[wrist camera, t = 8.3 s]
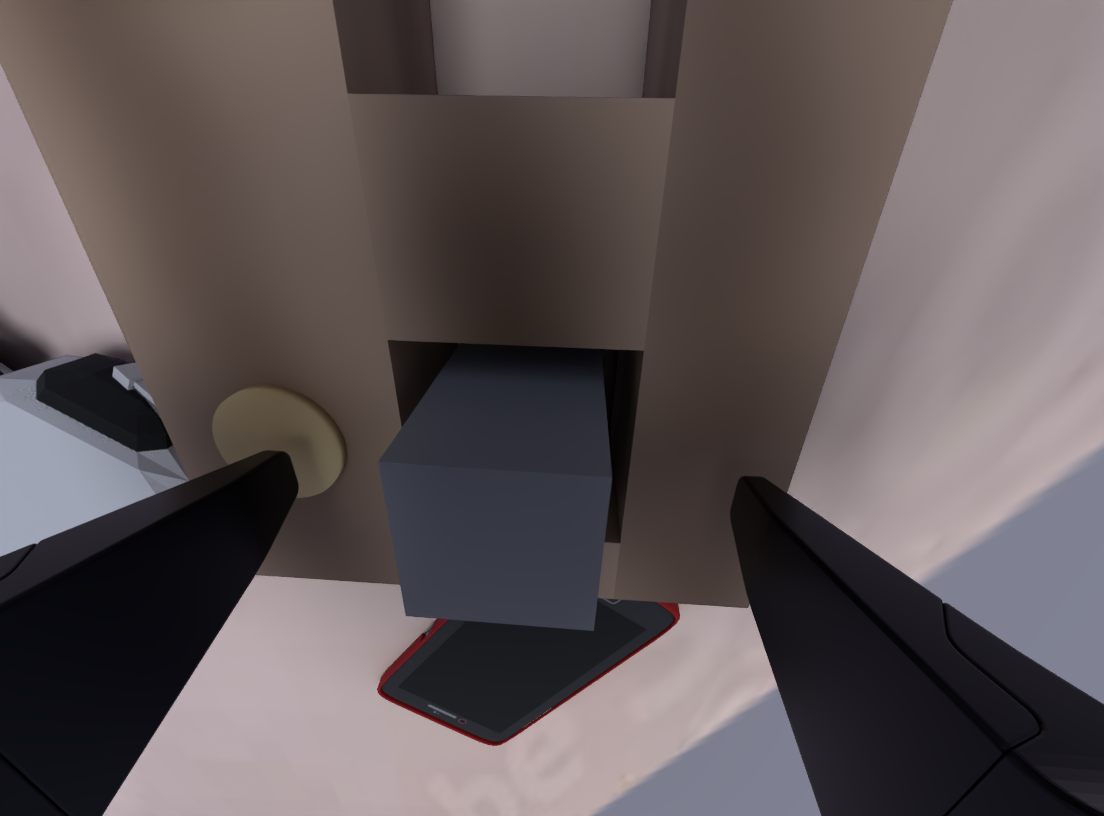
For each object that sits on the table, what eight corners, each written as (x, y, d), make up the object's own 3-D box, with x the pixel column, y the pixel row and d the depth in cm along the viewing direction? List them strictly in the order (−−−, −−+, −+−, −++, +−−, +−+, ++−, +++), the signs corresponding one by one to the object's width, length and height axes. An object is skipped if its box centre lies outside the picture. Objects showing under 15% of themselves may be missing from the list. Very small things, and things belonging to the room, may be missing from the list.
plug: (598, 313, 13) (612, 477, 6) (589, 413, 15) (593, 631, 8) (484, 307, 14) (377, 462, 7) (488, 407, 15) (405, 615, 8)
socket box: (895, -362, 8) (1378, -1181, 3) (704, 487, 16) (751, 618, 12) (105, -336, 8) (-506, -972, 4) (323, 466, 17) (223, 582, 12)
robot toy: (-89, 436, 19) (248, 602, 21) (-281, 504, 15) (159, 702, 17) (-128, 145, 14) (329, 406, 16) (-444, 129, 10) (228, 484, 11)
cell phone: (685, 597, 20) (690, 617, 19) (498, 731, 26) (495, 750, 25) (541, 508, 18) (539, 525, 17) (377, 674, 24) (369, 694, 23)
